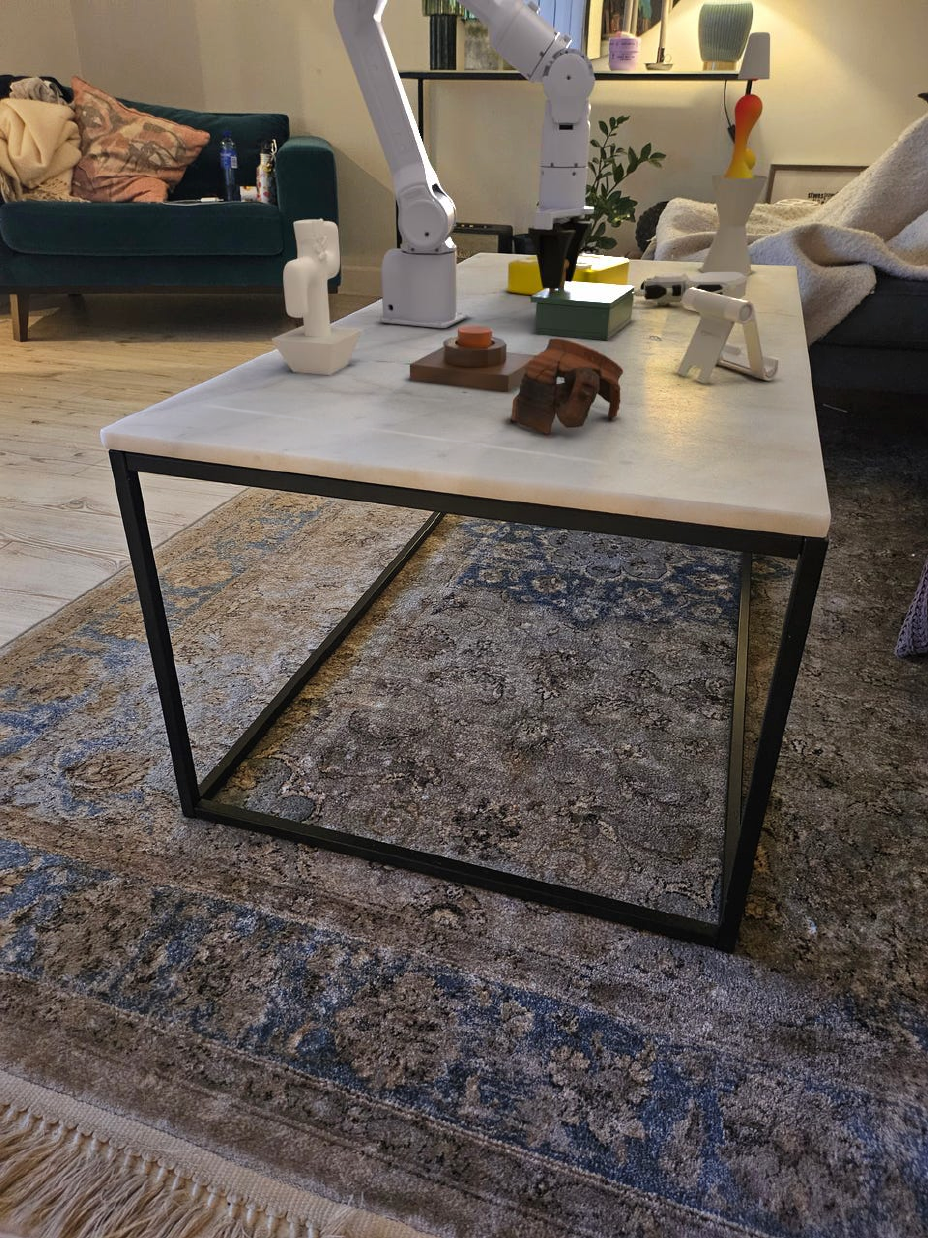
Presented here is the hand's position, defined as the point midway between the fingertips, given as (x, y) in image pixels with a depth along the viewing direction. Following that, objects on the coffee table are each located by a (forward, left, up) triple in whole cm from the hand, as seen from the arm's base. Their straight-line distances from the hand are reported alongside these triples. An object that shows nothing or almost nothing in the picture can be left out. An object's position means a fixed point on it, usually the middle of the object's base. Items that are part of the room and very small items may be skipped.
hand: (557, 284), depth 113 cm
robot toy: (+14, +20, -5) cm, 25 cm away
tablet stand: (+24, -17, -5) cm, 30 cm away
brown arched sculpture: (+14, -40, -5) cm, 43 cm away
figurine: (-17, -32, -5) cm, 37 cm away
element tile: (-6, +25, -5) cm, 26 cm away
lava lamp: (+14, +54, -5) cm, 56 cm away
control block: (0, -28, -5) cm, 28 cm away
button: (0, -28, -2) cm, 28 cm away
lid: (+4, 0, -1) cm, 4 cm away
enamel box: (+4, 0, -5) cm, 6 cm away
